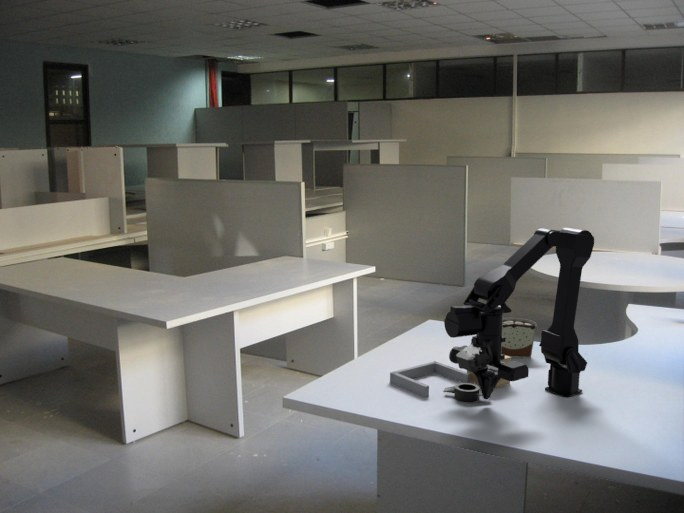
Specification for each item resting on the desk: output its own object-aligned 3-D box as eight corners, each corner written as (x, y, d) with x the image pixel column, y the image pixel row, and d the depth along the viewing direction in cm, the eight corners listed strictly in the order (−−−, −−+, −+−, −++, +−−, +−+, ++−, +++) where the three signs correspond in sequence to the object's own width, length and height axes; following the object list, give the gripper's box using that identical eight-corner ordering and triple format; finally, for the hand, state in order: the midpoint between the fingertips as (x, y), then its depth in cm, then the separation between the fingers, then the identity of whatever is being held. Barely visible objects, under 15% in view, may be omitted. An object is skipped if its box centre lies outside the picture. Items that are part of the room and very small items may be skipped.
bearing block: (509, 384, 174) (511, 357, 173) (490, 389, 170) (492, 362, 168) (485, 375, 180) (486, 349, 179) (466, 380, 176) (467, 354, 175)
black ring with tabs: (468, 409, 158) (468, 396, 158) (440, 395, 167) (440, 383, 166) (493, 402, 162) (494, 390, 161) (465, 389, 170) (465, 378, 170)
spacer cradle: (470, 383, 174) (470, 373, 173) (425, 396, 164) (425, 386, 164) (434, 370, 184) (435, 361, 183) (389, 382, 174) (390, 372, 174)
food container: (532, 351, 201) (534, 317, 199) (536, 358, 195) (538, 323, 193) (489, 349, 202) (490, 316, 200) (491, 356, 196) (493, 321, 194)
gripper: (434, 329, 159) (432, 394, 162) (498, 348, 145) (494, 420, 147) (467, 321, 166) (465, 384, 169) (531, 339, 152) (528, 408, 154)
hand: (486, 398), depth 160 cm, fingers closed
